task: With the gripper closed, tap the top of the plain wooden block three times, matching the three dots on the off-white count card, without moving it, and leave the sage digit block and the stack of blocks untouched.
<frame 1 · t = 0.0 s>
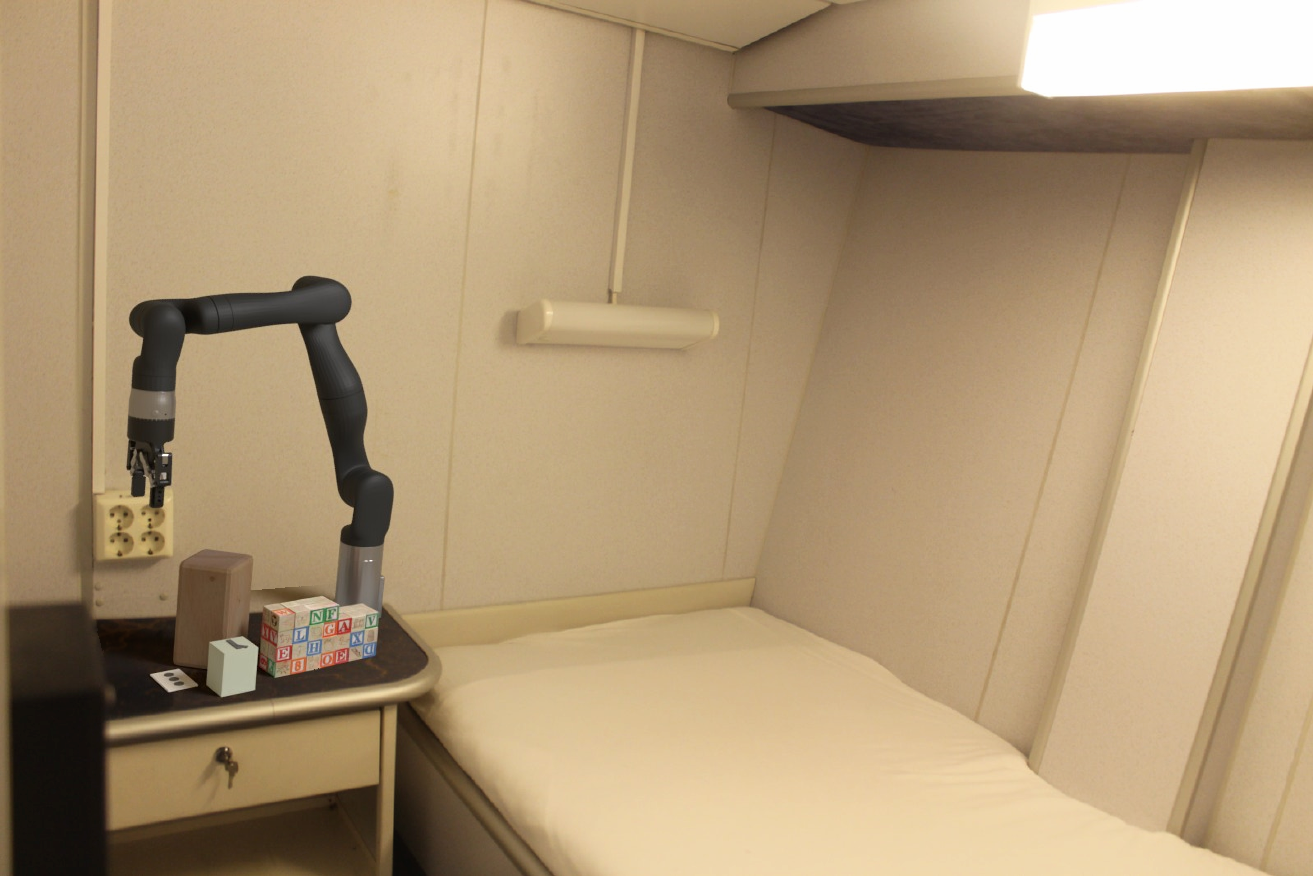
hand: (146, 501, 178), 29 cm above the table, fingers open, 8 cm apart
digit block: (230, 687, 174), on the table
wooden block: (210, 661, 184), on the table
count card: (173, 681, 174), on the table
stack of blocks: (318, 662, 190), on the table
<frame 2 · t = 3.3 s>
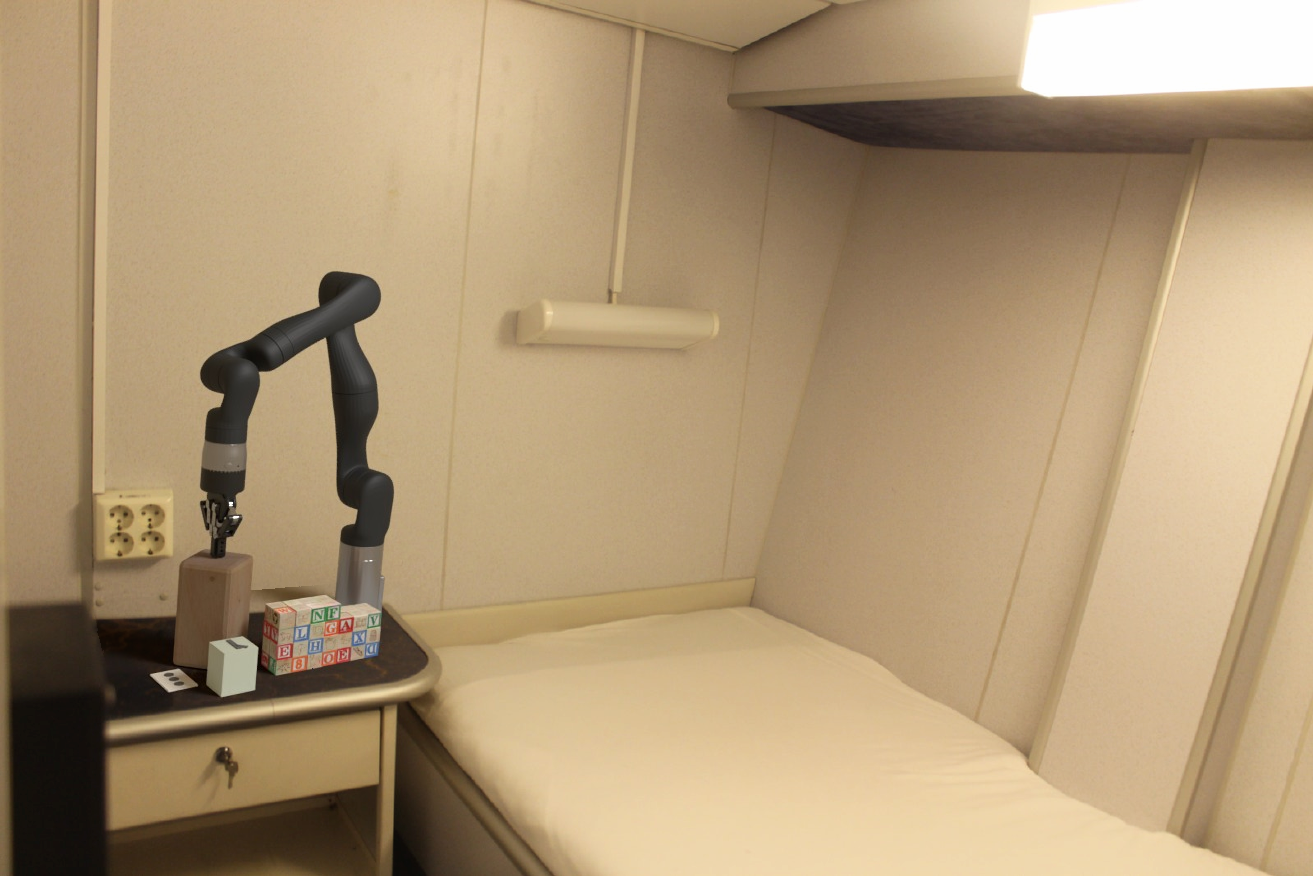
hand: (217, 556, 181), 20 cm above the table, fingers closed
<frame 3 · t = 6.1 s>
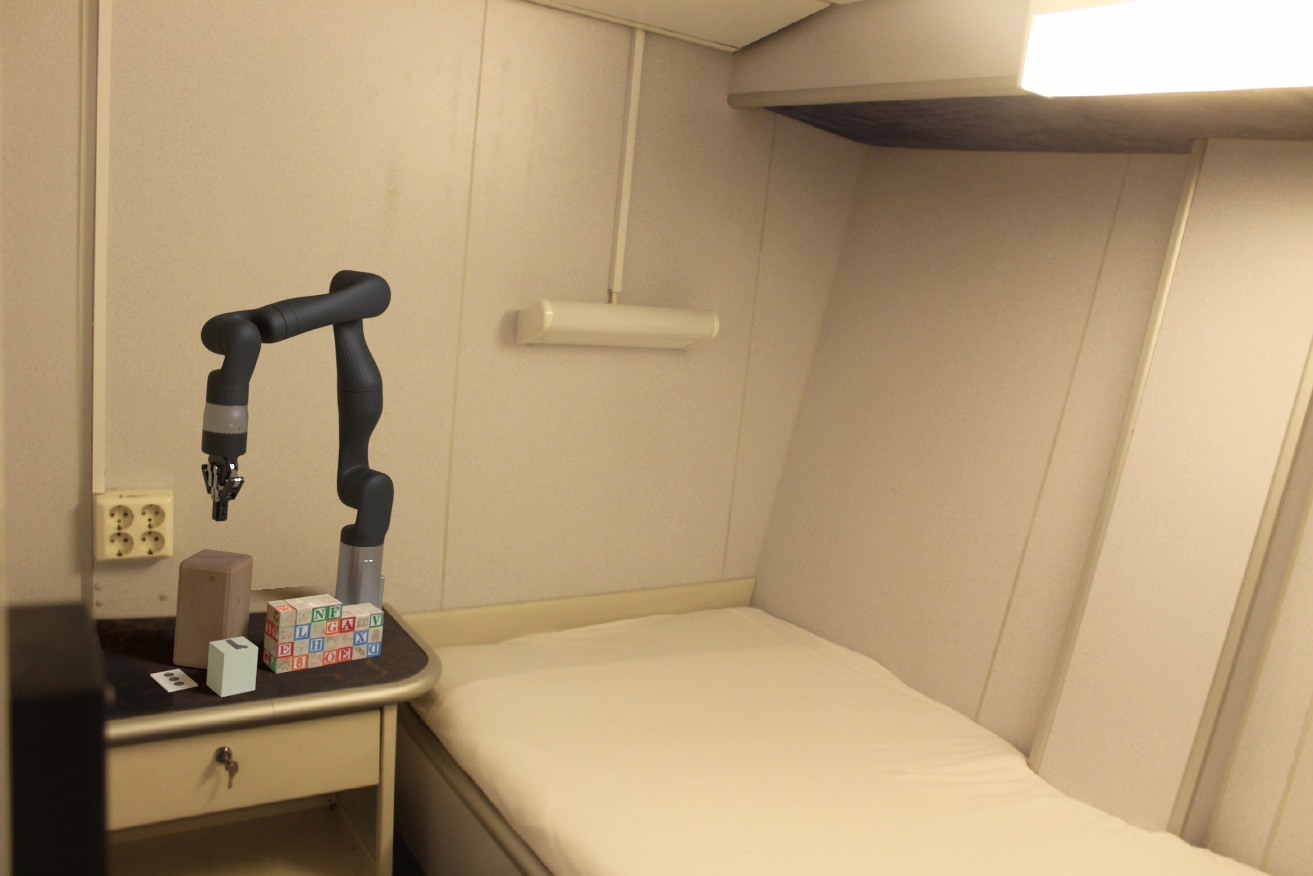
hand: (219, 520, 180), 27 cm above the table, fingers closed
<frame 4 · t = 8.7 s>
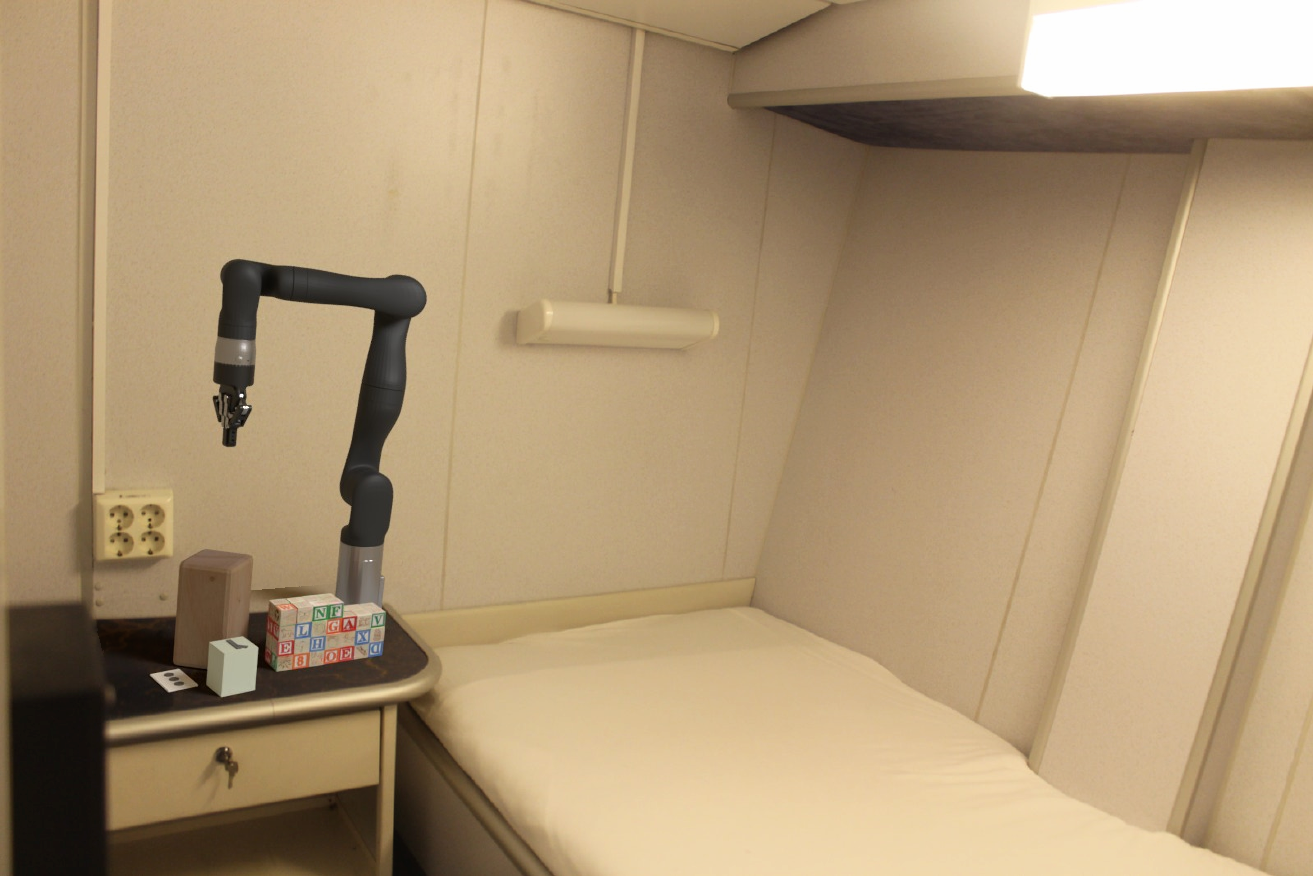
hand: (228, 446, 197), 37 cm above the table, fingers closed
at the end: wooden block moved 0.2 cm from its start; wooden block tilted 0°; digit block moved 0.1 cm from its start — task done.
